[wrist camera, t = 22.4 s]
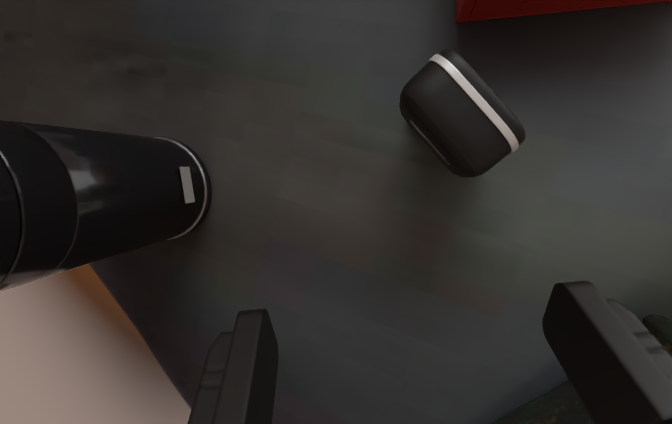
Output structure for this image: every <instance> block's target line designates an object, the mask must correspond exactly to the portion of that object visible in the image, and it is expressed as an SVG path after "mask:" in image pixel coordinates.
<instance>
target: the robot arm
mask: <svg viewBox="0 0 672 424" xmlns="http://www.w3.org/2000/svg"><path fill="white" fill-rule="evenodd" d="M210 197H211V187H210V180H209V176H208V173H207V170H206V168H205V166H204V164H203V162H202V161H201V159H200V158H199V157H198V155H197V154H196V153H195V152H194V151H193V150H192V149H191V148H189V147H188V146H187V145H185V144H183V143H181V142H179V141H177V140H174V139H170V138H162V137H143V136H136V135H127V134H119V133H110V132H101V131H92V130H83V129H75V128H66V127H57V126H48V125H40V124H31V123H22V122H13V121H2V120H0V291H3V290H6V289H9V288H12V287H16V286H19V285H22V284H25V283H29V282H32V281H34V280H37V279H41V278H44V277H47V276H50V275H54V274H57V273H60V272H63V271H66V270H69V269H73V268H76V267H80V266H83V265H86V264H89V263H92V262H96V261H99V260H102V259H105V258H109V257H112V256H115V255H118V254H122V253H125V252H128V251H131V250H134V249H138V248H141V247H144V246H147V245H151V244H154V243H158V242H161V241H164V240H170V239H174V238H178V237H181V236H183V235H186V234H188V233H189V232H191V231H192V230H194V229H195V228H196V227H197V226H198V225H199V224H200V223H201V221H202V220H203V218H204V217H205V215H206V213H207V210H208V207H209V203H210ZM543 331H544V334H545V337H546V340H547V341H548V343H549V345H550V347H551V348H552V350H553V352H554V354H555V355H556V357H557V359H558V361H559V362H560V364H561V366H562V367H563V369H564V371H565V373H566V374H567V376H568V378H569V379H570V381H571V383H572V385H573V386H574V388H575V390H576V392H577V393H578V395H579V397H580V398H581V400H582V402H583V404H584V405H585V407H586V409H587V411H588V412H589V414H590V416H591V417H592V419H593V421H594V423H595V424H672V357H671V356H670V355H669V354H668V352H667V351H664V350H663V348H662V345H661V344H660V343H659V342H658V341H657V340H656V339H655V337H654V336H653V335H650V333H649V330H648V329H647V328H646V327H645V326H644V325H643V324H642V322H641V321H640V320H639V319H638V318H637V317H636V315H635V314H634V313H632V312H631V311H629V310H628V309H627V308H625V307H624V306H622V305H621V304H619V303H618V302H616V301H615V300H614V299H605V298H604V297H603V296H602V295H601V293H600V292H599V291H598V290H597V289H596V287H595V286H594V285H593V284H592V283H590V282H588V281H577V282H566V283H557V284H555V286H554V287H553V290H552V293H551V296H550V299H549V302H548V305H547V308H546V311H545V314H544V317H543ZM203 369H204V372H203V373H202V375H201V379H200V382H199V389H197V393H196V396H195V400H194V403H193V407H192V410H191V414H190V417H189V421H188V424H272V415H273V406H274V397H275V387H276V378H277V369H278V344H277V340H276V337H275V333H274V330H273V327H272V324H271V320H270V317H269V314H268V311H267V309H258V310H247V311H240V312H239V313H238V315H237V318H236V322H235V326H234V331H233V332H222V333H220V335H219V336H218V338H217V339H216V340H215V342H214V343H213V345H212V346H211V347H210V349H209V351H208V355H207V358H206V361H205V365H204V368H203Z"/></svg>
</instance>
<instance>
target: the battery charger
mask: <svg viewBox="0 0 672 424" xmlns="http://www.w3.org/2000/svg"><path fill="white" fill-rule="evenodd" d="M399 107H400V110H401V115H402V116H403V118H404V119H405V120H406V121H407V123H408V124H409V125H410V126H411V127H412V128H413V129H414V131H415V132H416V133H417V134H418V135H419V136H420V137H421V138H422V139H423V140H424V142H425V143H426V144H427V145H428V146H429V147H430V148H431V150H432V151H433V152H434V153H435V154H436V155H437V157H438V158H439V159H440V160H441V161H442V162H443V163H444V165H445V166H446V167H447V168H448V169H449V170H450V171H451V172H452V173H453V174H456V175H459V176H461V177H475V176H479V175H482V174H483V173H485V172H486V171H488V170H489V169H491V168H492V167H493V166H494V165H496V164H497V163H498V162H499V161H500V160H502V159H503V158H504V157H505V156H507V155H510V154H512V153H513V152H514V151H515V150H517V149H518V148H519V145H520V144H521V143H522V142H523V141H524V140H525V131H524V128H523V126H522V125H521V123H520V121H519V120H518V119H517V118H516V116H515V115H514V114H513V113H512V112H511V110H510V109H509V108H508V107H507V106H506V105H505V104H504V103H503V101H502V100H501V99H500V98H499V97H498V96H497V95H496V93H495V92H494V91H493V90H492V89H491V88H490V87H489V86H488V84H487V83H486V82H485V81H484V80H483V79H482V78H481V77H480V76H479V75H478V73H477V72H476V71H475V70H474V69H473V68H472V67H471V66H470V65H469V64H468V63H467V62H466V61H465V59H464V58H463V57H461V56H460V55H459V54H458V53H457V52H455V51H453V50H450V49H445V50H442V51H441V52H440V53H439V54H435V55H434V56H433V57H432V58H431V59H429V60H428V62H427V64H426V66H425V67H423V68H422V69H421V70H420V71H419V72H418V73H417V74H416V75H415V76H414V77H413V78H412V79H411V80H410V81H409V82H408V83H407V84H406V85H405V86H404V88H403V90H402V92H401V96H400V105H399Z"/></svg>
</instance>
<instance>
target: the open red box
mask: <svg viewBox="0 0 672 424" xmlns="http://www.w3.org/2000/svg"><path fill="white" fill-rule="evenodd" d="M666 1H672V0H456V23H460V22H469V21H479V20H489V19H499V18H509V17H519V16H528V15H538V14H548V13H558V12H568V11H578V10H588V9H597V8H607V7H617V6H627V5H637V4H647V3H656V2H666Z"/></svg>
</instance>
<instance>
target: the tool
mask: <svg viewBox="0 0 672 424" xmlns="http://www.w3.org/2000/svg"><path fill="white" fill-rule="evenodd" d="M642 324H643V325H644V326H645V327H646V328H647V329H648V330H649V333H650V335H653V336H654V337H655V339H656V340H657V341H658V342H659V343H660V344H661V345H662V348H663V350H664V351H667V352H668V354H669V355H670V356H671V357H672V322H671V321H670V320H669V319H667V318H665V317H663V316H658V315H648V316H646V317H645V318H644V319H643V323H642ZM494 424H595V423H594V421H593V419H592V417H591V416H590V414H589V412H588V411H587V409H586V407H585V405H584V404H583V402H582V400H581V398H580V397H579V395H578V393H577V392H576V390H575V388H574V386H573V385H572V383H571V381H570V379H569V380H568V381H566V382H565V383H563V384H561V385H560V386H558V387H557V388H555V389H553V390H552V391H550V392H549V393H547V394H545V395H543V396H541V397H539V398H537V399H535V400H533V401H531V402H529V403H527V404H525V405H523V406H521V407H520V408H518V409H516V410H515V411H513V412H512V413H510V414H508V415H507V416H505V417H504V418H502V419H500V420H499V421H497V422H495V423H494Z"/></svg>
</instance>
